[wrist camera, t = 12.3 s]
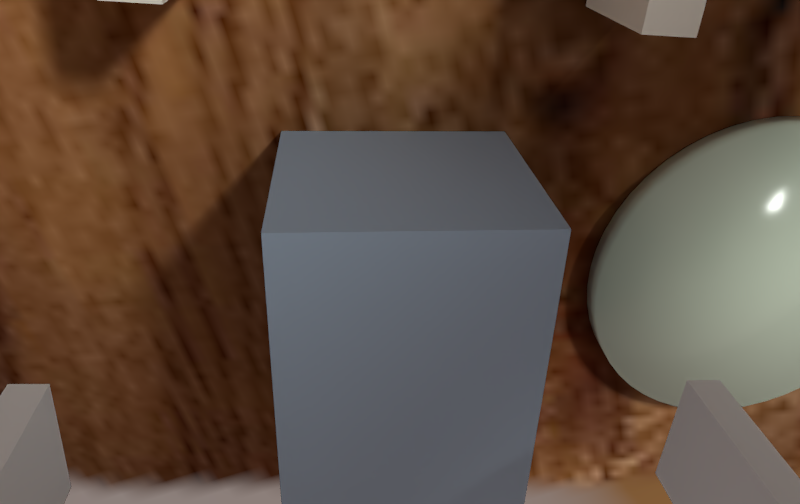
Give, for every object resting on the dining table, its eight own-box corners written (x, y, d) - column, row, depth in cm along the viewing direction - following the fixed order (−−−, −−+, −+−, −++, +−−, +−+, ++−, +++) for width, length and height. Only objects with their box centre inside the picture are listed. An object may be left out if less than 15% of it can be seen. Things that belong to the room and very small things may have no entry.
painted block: (281, 129, 18) (261, 232, 13) (503, 129, 18) (571, 229, 13) (296, 392, 22) (285, 550, 17) (475, 386, 23) (518, 537, 18)
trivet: (629, 107, 18) (640, 116, 18) (961, 124, 19) (984, 133, 19) (559, 393, 23) (566, 410, 22) (830, 394, 24) (844, 409, 23)
